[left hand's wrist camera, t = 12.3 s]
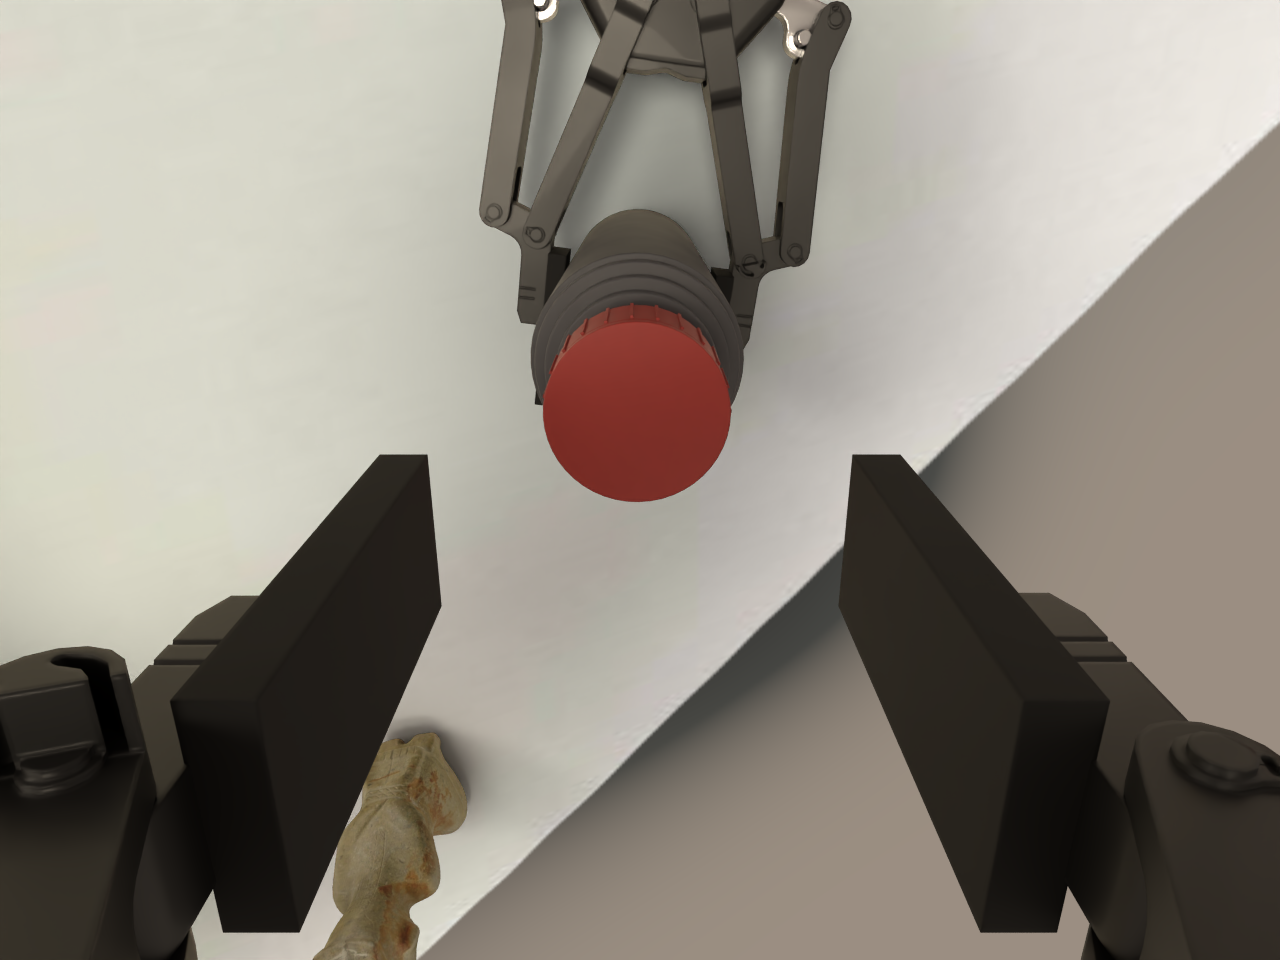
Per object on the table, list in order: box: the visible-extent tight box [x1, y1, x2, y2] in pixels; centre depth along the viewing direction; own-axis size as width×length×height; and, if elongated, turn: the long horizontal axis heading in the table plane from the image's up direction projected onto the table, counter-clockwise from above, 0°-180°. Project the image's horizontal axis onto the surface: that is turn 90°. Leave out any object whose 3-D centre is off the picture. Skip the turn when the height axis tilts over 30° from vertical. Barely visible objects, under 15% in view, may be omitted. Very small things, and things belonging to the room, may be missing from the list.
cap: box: [543, 303, 732, 502], centre depth 21 cm, size 4×4×2 cm
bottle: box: [531, 209, 744, 405], centre depth 32 cm, size 6×6×24 cm
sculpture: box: [313, 733, 467, 960], centre depth 47 cm, size 6×7×15 cm
